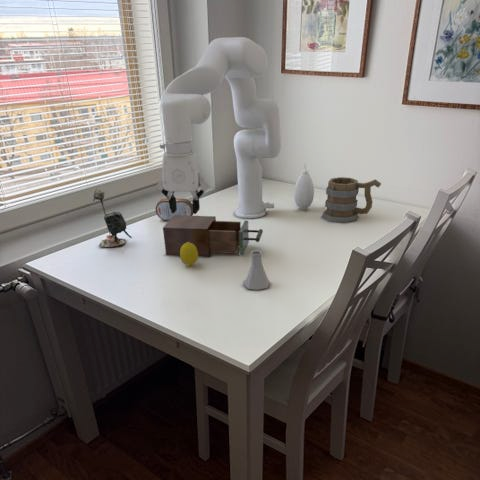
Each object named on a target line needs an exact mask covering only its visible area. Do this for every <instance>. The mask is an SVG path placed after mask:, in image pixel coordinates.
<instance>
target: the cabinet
mask: <svg viewBox="0 0 480 480" xmlns="http://www.w3.org/2000/svg"><path fill="white" fill-rule="evenodd" d="M214 221H217V217H216V216H213V215H192V216H185V215H174V216H173V217H172V218H171V219H170V220H169V221H167V222H166V223H165V224H164V226H163V227H162V234H163V240H164V249H165V256H173V257H175V256H176V257H180V250H181V247H182V246H183V245H184V244H185V243H187V242H189V243H192V244H194V245H195V246H196V248H197V251H198V258H210V257H211V255H212V253H213V252H209V240H208V229H209V228H210V226H211V225H212V223H213V222H214Z"/></svg>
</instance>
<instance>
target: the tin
mask: <svg viewBox="0 0 480 480" xmlns="http://www.w3.org/2000/svg"><path fill="white" fill-rule="evenodd" d="M176 206H177V210H176V211H175V213H171V209H170V207H169V200H168V199H167V197H165V198H161V199H160V200H158V201H157V203H156V205H155V213H156V215H157V217H158V218H159V219H161V220H162V221H167V222H168V221H169V220H170V219H171V218H172V217H173V216H174V215H185V216H194V215H195V214H194V213H193V204H192V201H191V200H189V199H187V198H176Z"/></svg>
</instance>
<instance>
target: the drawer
mask: <svg viewBox="0 0 480 480" xmlns="http://www.w3.org/2000/svg"><path fill="white" fill-rule="evenodd" d="M263 232H264V229H262V228H259V229H258V230H257V229H249V220H244V221H243V223H241V221H234V220H233V221H231V220H229V221H228V220H216V221H214V222H213V223H212V225H211V226H210V228H209V229H208V240H209V252H212V253H218V254H219V253H220V254H221V253H222V254H237V252H238V250H239V256H244V254H245V252H246V250H247V247H248V245H249V243H250V241H255V242H256V243H259V242H260V240H261V237H262V235H263ZM250 233H256V237H250V236H249V235H250Z"/></svg>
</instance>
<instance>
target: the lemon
mask: <svg viewBox="0 0 480 480" xmlns="http://www.w3.org/2000/svg"><path fill="white" fill-rule="evenodd" d="M179 257H180V260H181V262H182V263H183V264H184V265H186V266H188V267H192V266H193V265H194V264H196V263H197V261H198V259H199V257H198V251H197V248H196V246H195V245H194V244H192V243H189V242H187V243H185V244H184V245H183V246H182V247H181V250H180V256H179Z"/></svg>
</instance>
